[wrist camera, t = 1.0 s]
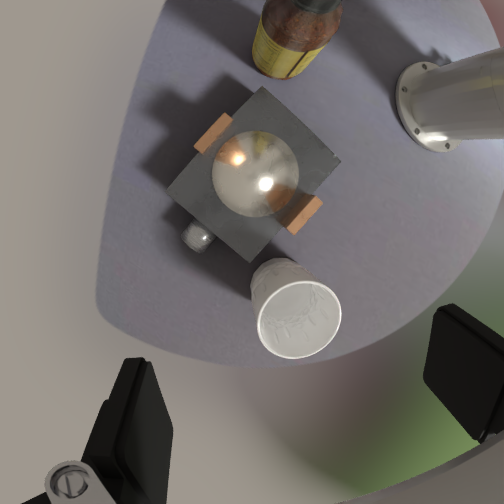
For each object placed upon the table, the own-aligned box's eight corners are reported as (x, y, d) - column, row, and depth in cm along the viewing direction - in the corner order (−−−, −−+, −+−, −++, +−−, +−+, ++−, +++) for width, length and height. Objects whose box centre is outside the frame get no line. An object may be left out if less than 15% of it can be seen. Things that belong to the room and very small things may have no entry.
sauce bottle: (299, 34, 31) (373, -60, 12) (308, 81, 33) (399, 9, 13) (243, 36, 30) (277, -74, 11) (251, 84, 32) (296, -2, 13)
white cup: (233, 300, 38) (241, 343, 28) (264, 240, 36) (283, 266, 27) (290, 323, 40) (314, 368, 30) (322, 268, 38) (356, 300, 29)
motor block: (253, 91, 32) (263, 74, 25) (330, 164, 35) (356, 164, 28) (150, 205, 34) (136, 213, 27) (232, 273, 37) (238, 296, 30)
